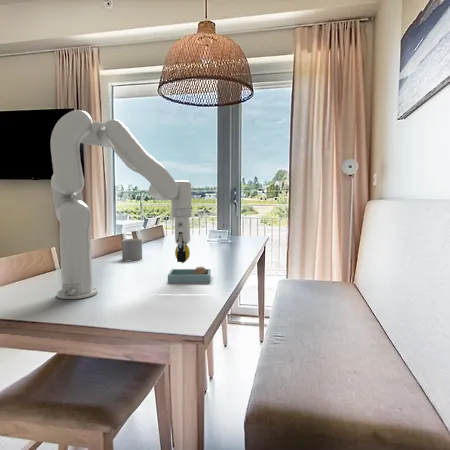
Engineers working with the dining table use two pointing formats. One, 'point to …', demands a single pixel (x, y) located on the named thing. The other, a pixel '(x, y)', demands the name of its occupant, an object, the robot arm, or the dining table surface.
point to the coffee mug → (132, 249)
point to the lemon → (186, 252)
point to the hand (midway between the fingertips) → (182, 259)
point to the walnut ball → (200, 271)
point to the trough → (188, 276)
